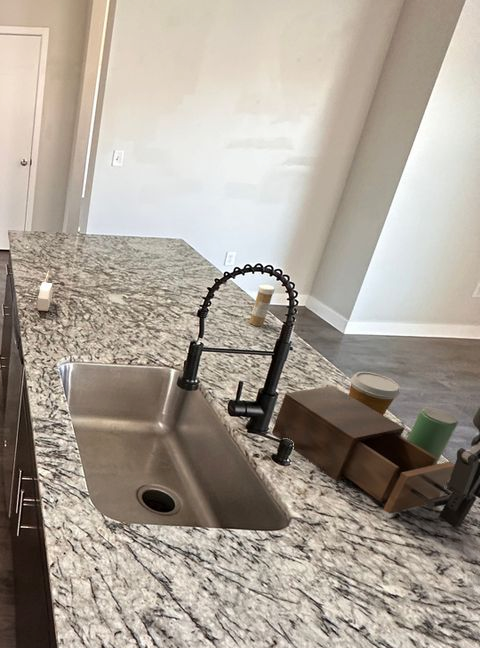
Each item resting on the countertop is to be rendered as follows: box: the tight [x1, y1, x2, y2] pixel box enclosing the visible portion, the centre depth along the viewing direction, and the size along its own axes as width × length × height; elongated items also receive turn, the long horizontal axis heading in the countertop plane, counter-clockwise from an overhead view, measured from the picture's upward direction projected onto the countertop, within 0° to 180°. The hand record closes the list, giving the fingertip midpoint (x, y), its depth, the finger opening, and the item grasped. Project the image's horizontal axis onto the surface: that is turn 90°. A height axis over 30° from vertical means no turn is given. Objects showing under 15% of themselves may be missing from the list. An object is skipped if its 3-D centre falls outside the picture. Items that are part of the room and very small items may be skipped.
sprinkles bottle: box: [248, 284, 275, 327], centre depth 178 cm, size 5×5×13 cm
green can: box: [406, 406, 459, 465], centre depth 111 cm, size 6×6×14 cm
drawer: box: [342, 433, 455, 514], centre depth 105 cm, size 20×13×9 cm, turn 17°
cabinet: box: [271, 385, 405, 482], centre depth 117 cm, size 17×14×11 cm
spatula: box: [36, 270, 53, 312], centre depth 195 cm, size 38×8×4 cm
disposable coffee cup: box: [348, 371, 401, 416], centre depth 127 cm, size 10×10×12 cm
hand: (449, 521), depth 97 cm, fingers closed
